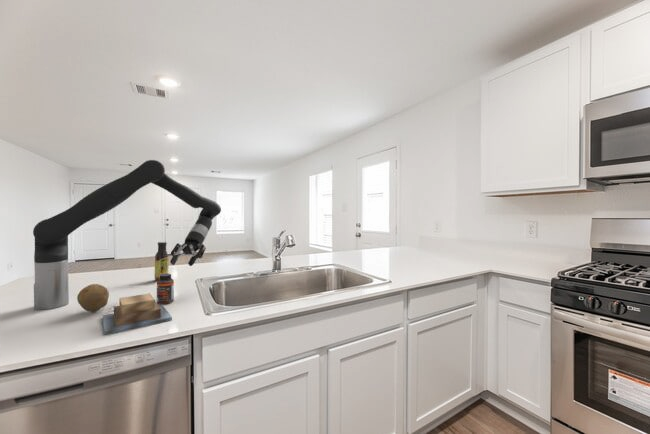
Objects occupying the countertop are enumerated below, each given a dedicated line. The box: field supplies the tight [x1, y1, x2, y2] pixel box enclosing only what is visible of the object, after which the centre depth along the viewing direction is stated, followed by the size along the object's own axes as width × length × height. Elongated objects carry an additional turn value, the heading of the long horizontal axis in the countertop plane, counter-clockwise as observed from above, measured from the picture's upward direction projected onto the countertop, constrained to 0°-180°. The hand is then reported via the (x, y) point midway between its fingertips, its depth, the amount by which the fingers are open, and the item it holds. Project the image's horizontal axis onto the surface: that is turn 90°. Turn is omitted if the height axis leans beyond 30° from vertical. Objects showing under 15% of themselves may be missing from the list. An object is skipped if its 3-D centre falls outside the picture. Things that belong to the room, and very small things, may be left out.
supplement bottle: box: [156, 273, 175, 305], centre depth 112 cm, size 6×6×11 cm
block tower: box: [102, 292, 173, 336], centre depth 95 cm, size 18×16×7 cm
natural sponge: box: [76, 283, 110, 313], centre depth 102 cm, size 9×9×10 cm
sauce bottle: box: [154, 241, 170, 282], centre depth 146 cm, size 7×6×20 cm
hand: (180, 264), depth 121 cm, fingers open, 8 cm apart
